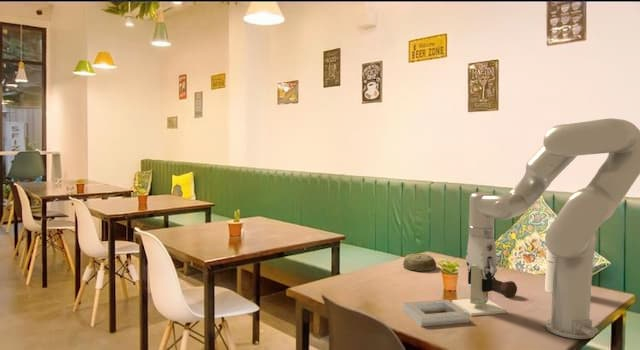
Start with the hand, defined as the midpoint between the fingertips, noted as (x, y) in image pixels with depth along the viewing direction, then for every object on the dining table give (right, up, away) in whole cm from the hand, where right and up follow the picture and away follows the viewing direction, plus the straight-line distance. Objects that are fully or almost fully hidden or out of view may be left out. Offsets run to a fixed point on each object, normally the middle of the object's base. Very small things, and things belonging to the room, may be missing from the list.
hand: (479, 287), depth 153 cm
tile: (0, -7, +1) cm, 7 cm away
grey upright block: (0, -5, 0) cm, 5 cm away
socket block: (-16, -7, -7) cm, 19 cm away
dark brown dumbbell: (+12, -6, +18) cm, 23 cm away
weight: (-9, -3, +48) cm, 49 cm away
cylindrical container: (+33, -6, +18) cm, 38 cm away
